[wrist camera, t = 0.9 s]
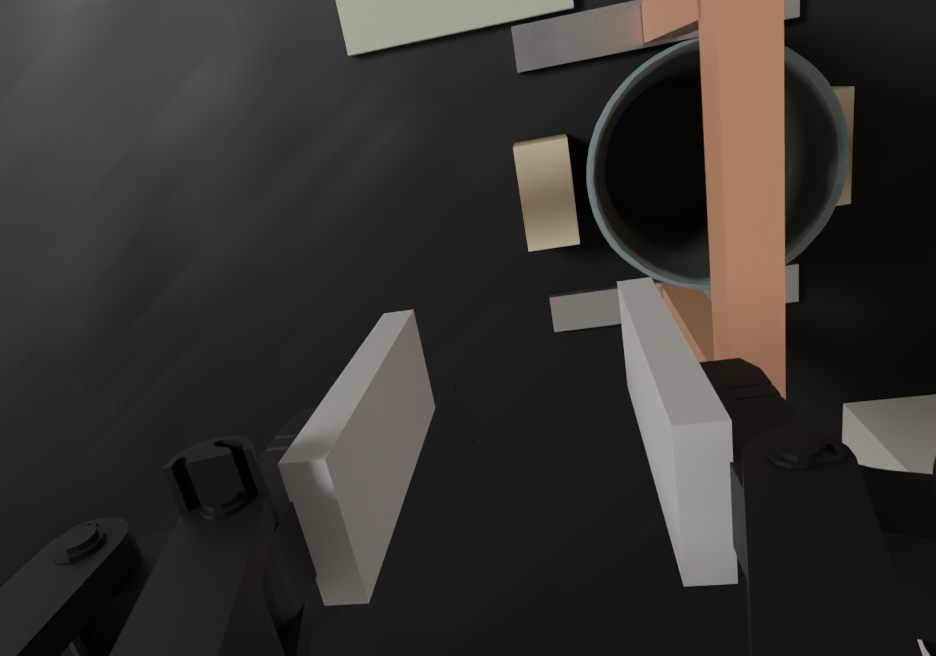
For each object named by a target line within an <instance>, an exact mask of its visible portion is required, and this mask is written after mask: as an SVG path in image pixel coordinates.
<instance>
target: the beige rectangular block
mask: <svg viewBox="0 0 936 656" xmlns="http://www.w3.org/2000/svg"><path fill="white" fill-rule="evenodd" d="M854 87H855V86H831V88H832V89H833V91H834V93H835V94H836V96H837V98H838V100H839V102H840V104H841V107H842V110H843V113H844V116H845V119H846V124H847V129H848V139H849V161H848V168H847V176H846V180H845V183H844V187H843V190H842V193H841V196H840V199H839V201H838V203H837V205H836V206H839V205H845V204H851V179H852V149H853V118H854ZM513 151H514V158H515V164H516V171H517V178H518V184H519V191H520V198H521V204H522V211H523V217H524V224H525V231H526V237H527V244H528V251H536V250H543V249H550V248H556V247H563V246H570V245H576V244H580V240H579V231H578V223H577V215H576V206H575V198H574V190H573V181H572V173H571V165H570V157H569V148H568V140H567V136H566V134H561V135H556V136H550V137H545V138H539V139H534V140H528V141H522V142H517V143H515V144H514V146H513Z"/></svg>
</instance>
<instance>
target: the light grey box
mask: <svg viewBox="0 0 936 656" xmlns="http://www.w3.org/2000/svg"><path fill="white" fill-rule="evenodd" d="M842 443H844V444H845V445H847V446H848V447H849V448H850V449H851V451H852V452H853V453H854V455H855V456H856V458H857V461H858V464H860V465H864V466H868V467H872V468H879V469H886V470H894V471H905V472H915V473H926V474H933V464H934V460H935V457H936V394H935V395H925V396H914V397H904V398H894V399H884V400H873V401H863V402H853V403H843V430H842ZM917 640H918V643H919V646H920V649H921V652H922V655H923V656H930V655H929V653H928V652H927V650H926V649H925V647H924V645H923V642H922V640H919V639H917Z"/></svg>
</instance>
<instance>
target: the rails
mask: <svg viewBox="0 0 936 656" xmlns="http://www.w3.org/2000/svg"><path fill="white" fill-rule="evenodd" d="M643 1H644V0H635V1H630V2H625V3H621V4H616V5H611V6H606V7H602V8H597V9H592V10H588V11H583V12H578V13H574V14H569V15H564V16H559V17H555V18H550V19H545V20H541V21H536V22H531V23H526V24H522V25H517V26H512V27H511V29H512V36H513V43H514V50H515V58H516V65H517V72H518V73H520V72H526V71H531V70H536V69H541V68H546V67H551V66H556V65H561V64H566V63H571V62H576V61H581V60H586V59H591V58H596V57H601V56H606V55H611V54H616V53H621V52H626V51H631V50H636V49H641V48H646V47H651V46H656V45H661V44H666V43H671V42H676V41H681V40H686V39H691V38H696V37H699V30H697V31H694V32H691V33H688V34H686V35H683V36H679V37H674V38H669V39H664V40H659V41H654V42H649V43H644V32H643V18H642V5H641V3H642V2H643ZM797 17H800V0H784V20H787V19H792V18H797ZM653 282H654V284H655V285H656V287H657V289H658V291H659V293H660V294H661V296H662V298H663V300H664V297H663V287H667V286H674V285H671V284H668V283H665V282H662V281H660V280H655V281H653ZM702 291H703V292H704V293H705V294H706V296H707V297H708V298H709V299H710V301H711V302H712V300H711V290H702ZM798 301H799V264H798V263H797V262H789V263H787V264H786V265H785V303H790V302H798ZM550 304H551V311H552V318H553V325H554V332H559V331H567V330H575V329H583V328H591V327H599V326H607V325H615V324H621V314H620V304H619V294H618V286H611V287H603V288H596V289H589V290H581V291H574V292H566V293H559V294H552V295H550Z"/></svg>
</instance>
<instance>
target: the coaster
mask: <svg viewBox="0 0 936 656" xmlns="http://www.w3.org/2000/svg"><path fill="white" fill-rule="evenodd" d="M336 4H337V8H338V13H339V17H340V22H341V26H342V30H343V35H344V39H345V43H346V48H347V52H348V56H354V55H358V54H363V53H368V52H372V51H377V50H382V49H386V48H391V47H396V46H400V45H405V44H410V43H414V42H419V41H424V40H428V39H433V38H438V37H443V36H447V35H452V34H457V33H461V32H466V31H471V30H475V29H480V28H485V27H489V26H494V25H499V24H503V23H508V22H513V21H517V20H522V19H527V18H531V17H536V16H541V15H545V14H550V13H555V12H560V11H564V10H569V9H573V8H574V3H573V0H336Z"/></svg>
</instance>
